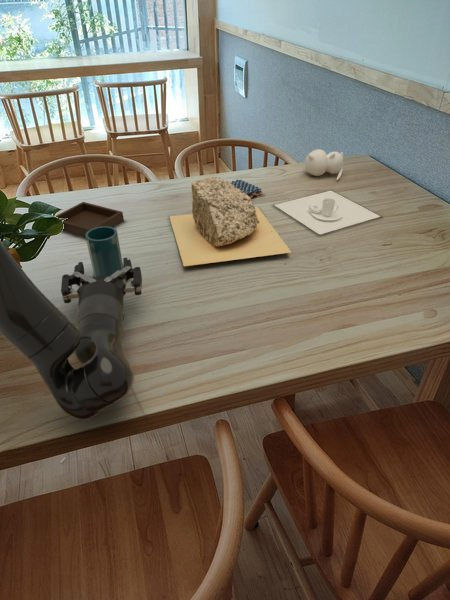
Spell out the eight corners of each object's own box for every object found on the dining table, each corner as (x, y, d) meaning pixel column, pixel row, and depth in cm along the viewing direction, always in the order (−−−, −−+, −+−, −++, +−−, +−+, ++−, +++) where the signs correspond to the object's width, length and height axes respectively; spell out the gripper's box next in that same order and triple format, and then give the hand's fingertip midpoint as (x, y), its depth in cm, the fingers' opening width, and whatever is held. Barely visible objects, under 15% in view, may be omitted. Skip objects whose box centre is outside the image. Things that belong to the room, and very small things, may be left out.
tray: (52, 227, 114) (50, 218, 112) (85, 210, 122) (83, 201, 120) (92, 239, 108) (90, 230, 107) (124, 220, 116) (122, 211, 115)
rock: (166, 215, 118) (194, 158, 111) (236, 244, 127) (265, 193, 120) (181, 265, 95) (216, 197, 88) (264, 296, 104) (302, 236, 98)
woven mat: (236, 204, 123) (236, 197, 122) (212, 193, 130) (212, 186, 129) (264, 195, 129) (264, 188, 127) (240, 184, 135) (240, 177, 134)
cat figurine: (345, 142, 136) (306, 142, 135) (351, 171, 133) (312, 171, 131) (336, 161, 144) (300, 161, 143) (342, 188, 141) (305, 189, 140)
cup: (88, 278, 94) (78, 236, 89) (108, 264, 99) (100, 223, 93) (111, 286, 92) (102, 243, 86) (130, 271, 96) (123, 230, 90)
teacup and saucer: (303, 211, 119) (304, 197, 117) (327, 205, 122) (329, 191, 120) (324, 224, 113) (326, 209, 110) (348, 217, 116) (351, 203, 113)
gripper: (140, 290, 74) (137, 243, 87) (51, 300, 72) (61, 250, 85) (146, 325, 78) (142, 275, 91) (61, 336, 76) (70, 283, 89)
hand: (103, 263), depth 88 cm, fingers open, 8 cm apart
